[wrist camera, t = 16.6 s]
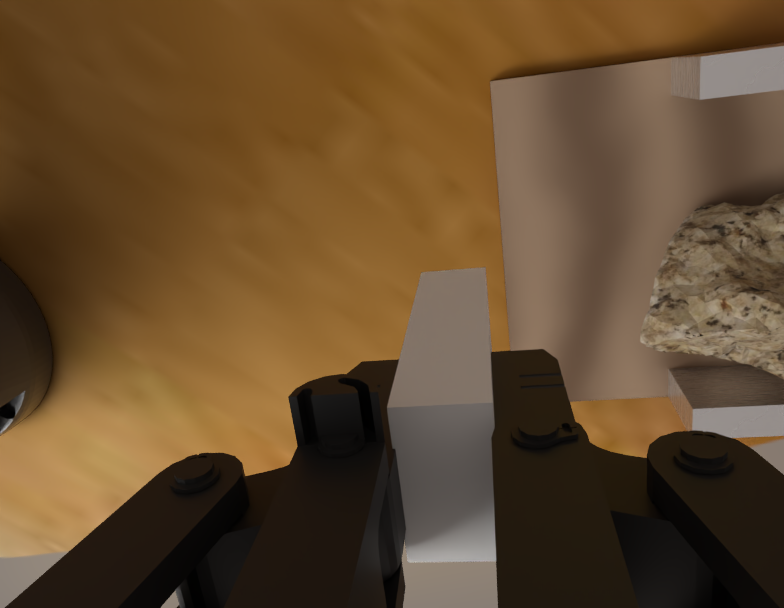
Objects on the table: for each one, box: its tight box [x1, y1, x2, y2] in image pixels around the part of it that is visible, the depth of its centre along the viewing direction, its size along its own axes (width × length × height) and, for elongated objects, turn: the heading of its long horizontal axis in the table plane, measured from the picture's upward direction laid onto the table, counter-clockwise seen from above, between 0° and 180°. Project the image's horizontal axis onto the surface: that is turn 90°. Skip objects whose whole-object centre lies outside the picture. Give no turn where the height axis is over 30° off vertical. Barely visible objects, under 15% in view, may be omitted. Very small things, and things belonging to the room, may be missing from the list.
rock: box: [640, 192, 784, 379], centre depth 33 cm, size 11×12×10 cm
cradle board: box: [490, 42, 784, 402], centre depth 36 cm, size 22×19×1 cm
